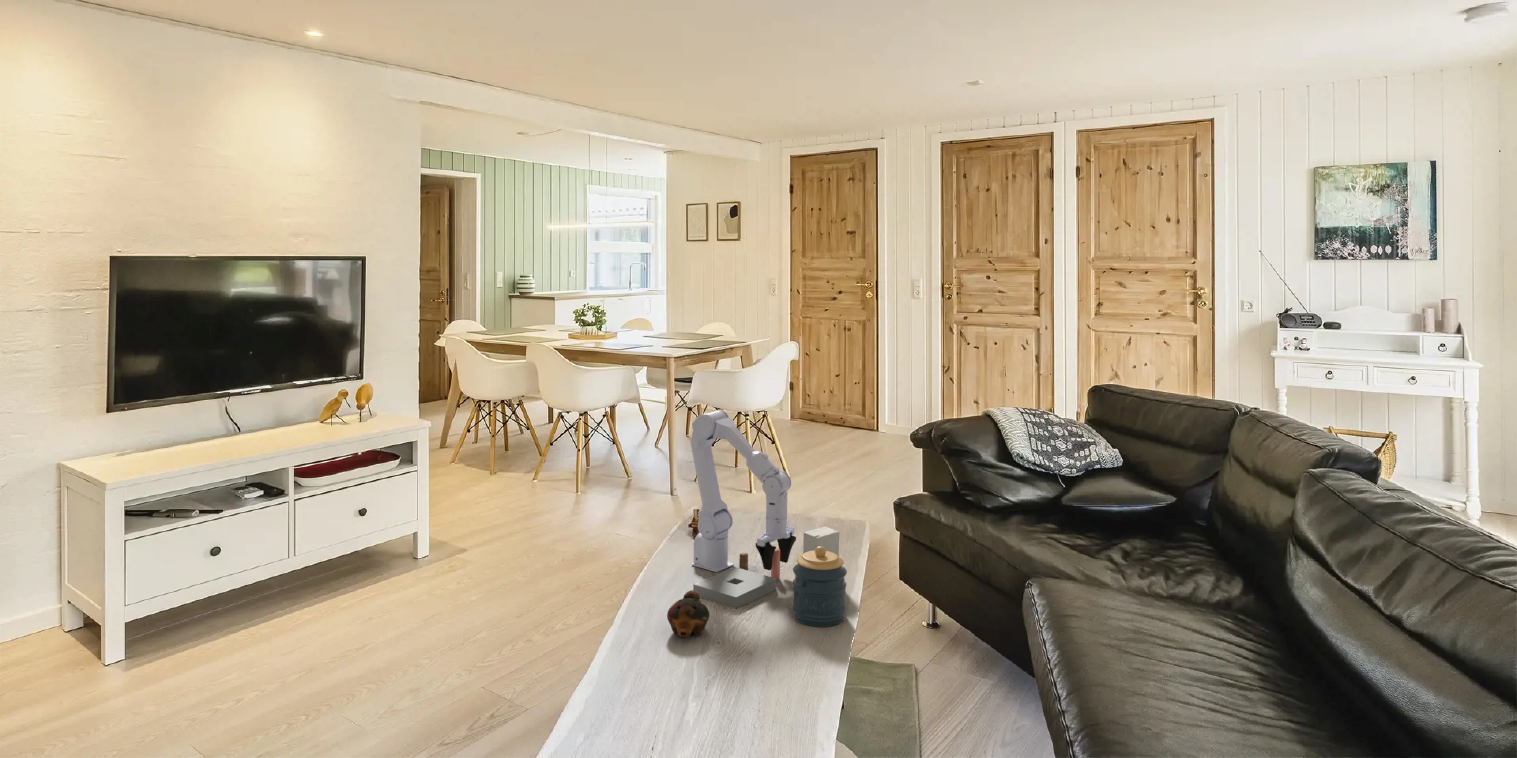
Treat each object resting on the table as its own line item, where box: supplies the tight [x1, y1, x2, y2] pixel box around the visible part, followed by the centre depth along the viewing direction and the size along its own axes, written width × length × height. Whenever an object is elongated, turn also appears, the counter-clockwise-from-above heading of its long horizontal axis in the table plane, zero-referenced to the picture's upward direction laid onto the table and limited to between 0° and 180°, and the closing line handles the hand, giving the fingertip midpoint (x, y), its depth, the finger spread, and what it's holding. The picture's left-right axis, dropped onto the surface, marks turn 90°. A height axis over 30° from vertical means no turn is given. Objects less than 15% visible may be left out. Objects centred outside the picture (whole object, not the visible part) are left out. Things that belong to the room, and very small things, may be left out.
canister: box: [791, 546, 848, 628], centre depth 204 cm, size 13×13×18 cm
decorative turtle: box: [666, 590, 710, 639], centre depth 195 cm, size 10×15×8 cm, turn 2°
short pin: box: [738, 552, 749, 571], centre depth 237 cm, size 2×2×4 cm
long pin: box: [770, 548, 781, 581], centre depth 230 cm, size 2×2×8 cm
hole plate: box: [692, 566, 777, 610], centre depth 220 cm, size 14×17×3 cm
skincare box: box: [802, 526, 840, 557], centre depth 226 cm, size 8×6×15 cm
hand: (775, 565), depth 230 cm, fingers open, 7 cm apart
